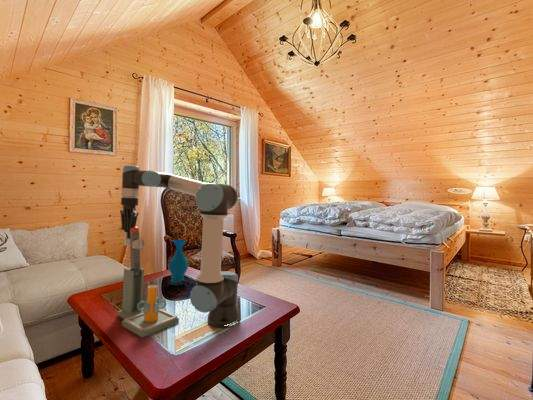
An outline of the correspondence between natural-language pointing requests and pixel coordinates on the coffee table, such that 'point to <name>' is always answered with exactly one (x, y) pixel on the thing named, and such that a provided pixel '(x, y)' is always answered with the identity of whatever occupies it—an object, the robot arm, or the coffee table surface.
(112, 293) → the coffee table surface
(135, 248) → the press lever
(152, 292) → the cylinder
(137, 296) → the press frame
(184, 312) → the coffee table surface
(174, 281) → the vase
